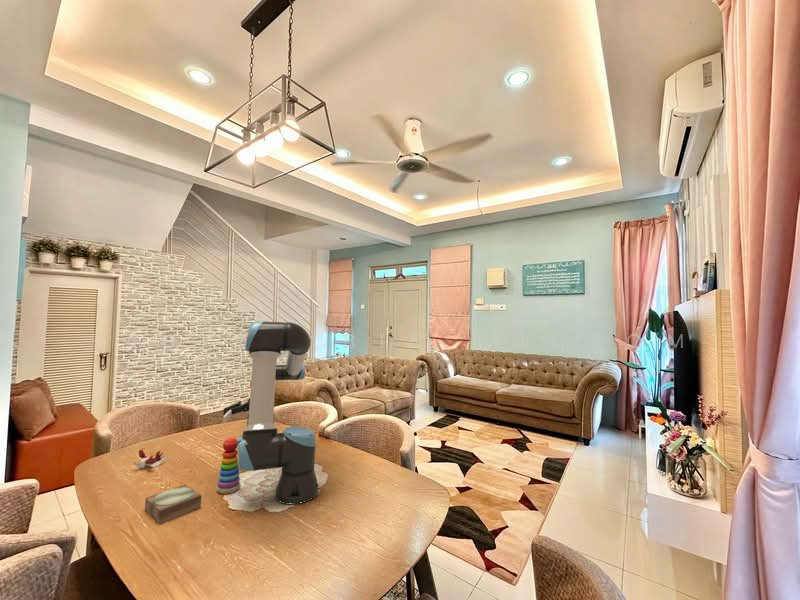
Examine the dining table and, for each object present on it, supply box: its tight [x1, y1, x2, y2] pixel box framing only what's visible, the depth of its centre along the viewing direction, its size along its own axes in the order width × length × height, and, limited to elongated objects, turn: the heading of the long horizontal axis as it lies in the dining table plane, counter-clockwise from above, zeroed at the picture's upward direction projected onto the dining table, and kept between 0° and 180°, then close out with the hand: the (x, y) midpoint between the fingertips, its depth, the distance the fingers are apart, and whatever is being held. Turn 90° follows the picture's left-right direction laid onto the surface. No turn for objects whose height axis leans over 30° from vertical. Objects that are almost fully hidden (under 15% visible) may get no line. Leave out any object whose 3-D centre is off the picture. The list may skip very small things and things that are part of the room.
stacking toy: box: [216, 436, 241, 495], centre depth 127 cm, size 8×8×19 cm
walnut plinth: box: [144, 484, 202, 525], centre depth 113 cm, size 12×12×4 cm
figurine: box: [132, 447, 167, 469], centre depth 143 cm, size 15×12×7 cm
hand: (241, 420), depth 137 cm, fingers open, 13 cm apart
